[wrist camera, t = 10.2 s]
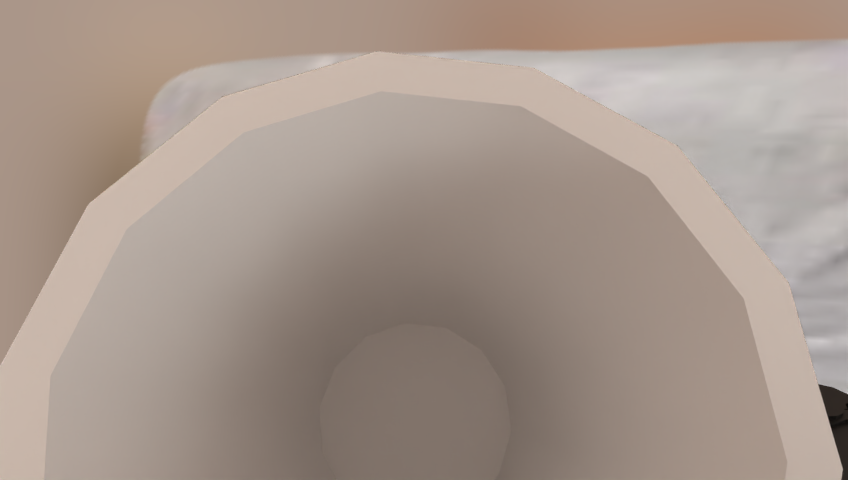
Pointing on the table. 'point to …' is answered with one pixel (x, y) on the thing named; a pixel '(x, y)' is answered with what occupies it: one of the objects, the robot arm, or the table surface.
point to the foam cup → (412, 300)
